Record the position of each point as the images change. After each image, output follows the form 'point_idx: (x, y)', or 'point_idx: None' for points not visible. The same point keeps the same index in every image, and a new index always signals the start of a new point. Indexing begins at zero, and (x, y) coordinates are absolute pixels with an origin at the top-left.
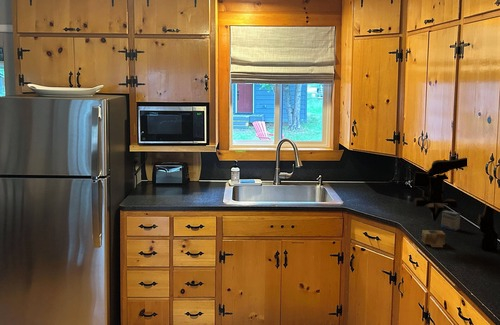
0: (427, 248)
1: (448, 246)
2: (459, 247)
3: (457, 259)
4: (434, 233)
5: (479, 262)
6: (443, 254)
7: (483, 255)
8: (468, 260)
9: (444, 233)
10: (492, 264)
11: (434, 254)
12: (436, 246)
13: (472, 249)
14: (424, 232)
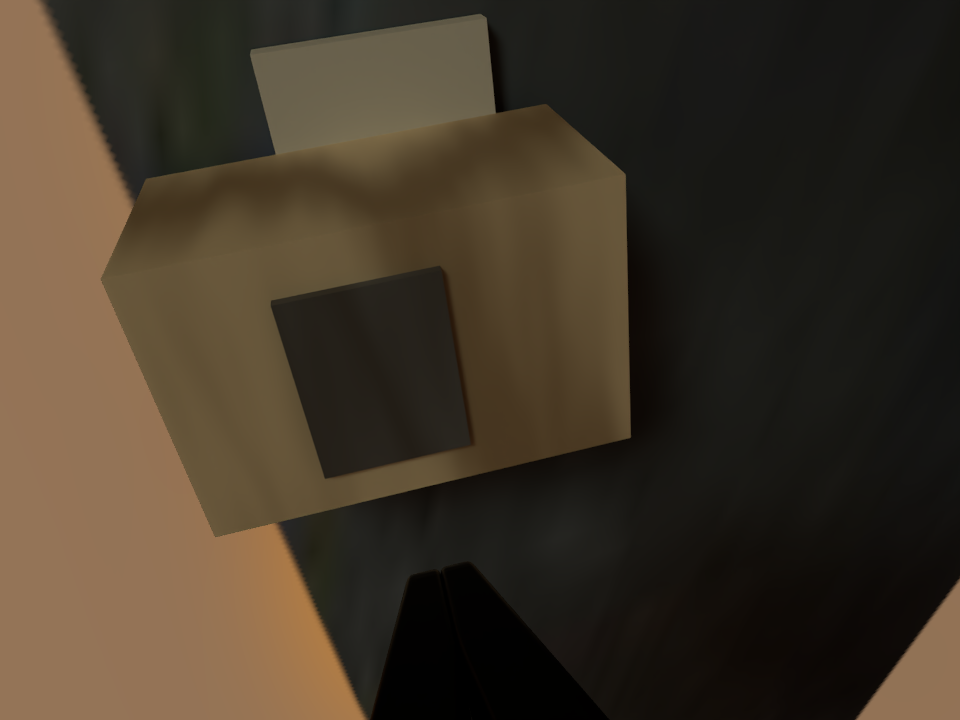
0: None
1: None
2: (763, 311)
3: None
4: (410, 454)
5: (768, 691)
6: None
7: (912, 510)
8: (687, 684)
9: (628, 385)
10: (857, 691)
11: (360, 662)
12: None
13: (903, 344)
14: (179, 455)
